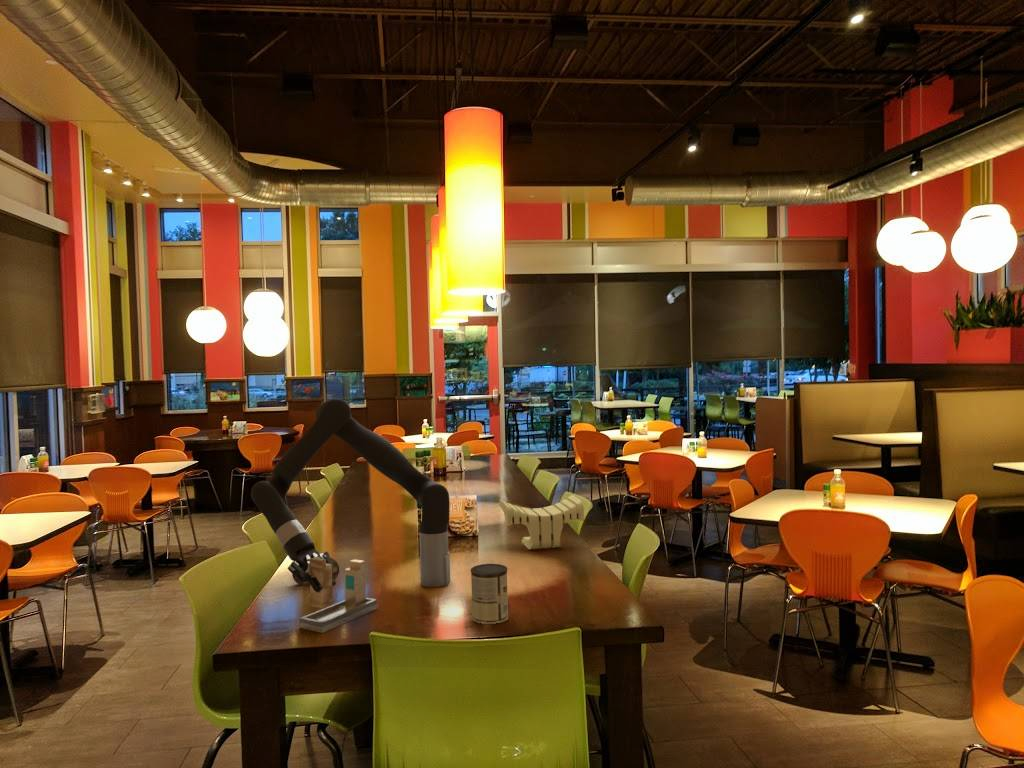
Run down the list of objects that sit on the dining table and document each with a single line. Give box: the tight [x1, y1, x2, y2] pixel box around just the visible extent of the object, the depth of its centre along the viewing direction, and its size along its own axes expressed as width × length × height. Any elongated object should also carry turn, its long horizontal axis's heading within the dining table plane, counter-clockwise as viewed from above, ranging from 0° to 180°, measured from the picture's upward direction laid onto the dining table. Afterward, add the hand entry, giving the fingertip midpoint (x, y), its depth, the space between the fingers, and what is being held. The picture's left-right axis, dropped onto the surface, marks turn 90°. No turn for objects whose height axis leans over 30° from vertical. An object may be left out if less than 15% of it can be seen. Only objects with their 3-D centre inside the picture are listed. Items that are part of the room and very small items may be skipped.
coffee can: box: [470, 563, 509, 625], centre depth 205 cm, size 10×10×14 cm
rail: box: [299, 558, 378, 634], centre depth 208 cm, size 22×8×14 cm, turn 149°
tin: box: [291, 556, 340, 586], centre depth 243 cm, size 15×3×8 cm, turn 105°
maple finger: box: [309, 557, 334, 609], centre depth 202 cm, size 4×4×13 cm
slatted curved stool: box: [498, 494, 585, 550], centre depth 286 cm, size 30×16×18 cm, turn 101°
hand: (326, 588), depth 201 cm, fingers closed on maple finger, 4 cm apart
